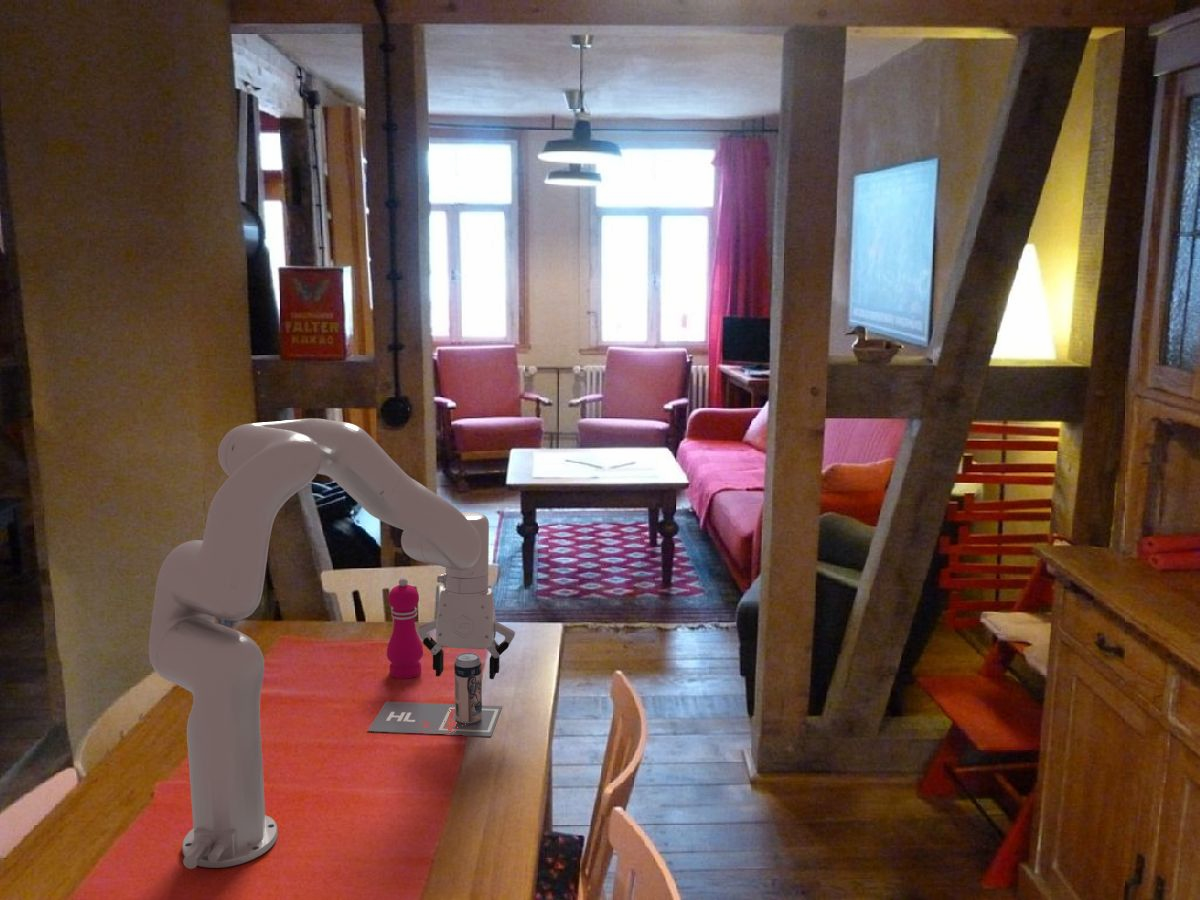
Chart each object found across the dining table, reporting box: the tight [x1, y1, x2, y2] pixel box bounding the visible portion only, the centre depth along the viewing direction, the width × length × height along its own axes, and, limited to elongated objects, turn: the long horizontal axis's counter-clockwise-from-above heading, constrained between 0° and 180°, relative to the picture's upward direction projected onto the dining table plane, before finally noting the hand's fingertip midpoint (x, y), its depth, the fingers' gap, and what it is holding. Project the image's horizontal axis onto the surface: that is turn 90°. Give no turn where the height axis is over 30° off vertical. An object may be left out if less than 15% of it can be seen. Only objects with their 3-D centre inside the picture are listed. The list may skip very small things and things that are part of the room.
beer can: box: [453, 652, 483, 724], centre depth 176 cm, size 5×5×12 cm
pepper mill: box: [386, 577, 424, 680], centre depth 196 cm, size 7×7×20 cm
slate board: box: [366, 701, 503, 738], centre depth 178 cm, size 12×22×1 cm, turn 86°
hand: (466, 675), depth 175 cm, fingers open, 9 cm apart
